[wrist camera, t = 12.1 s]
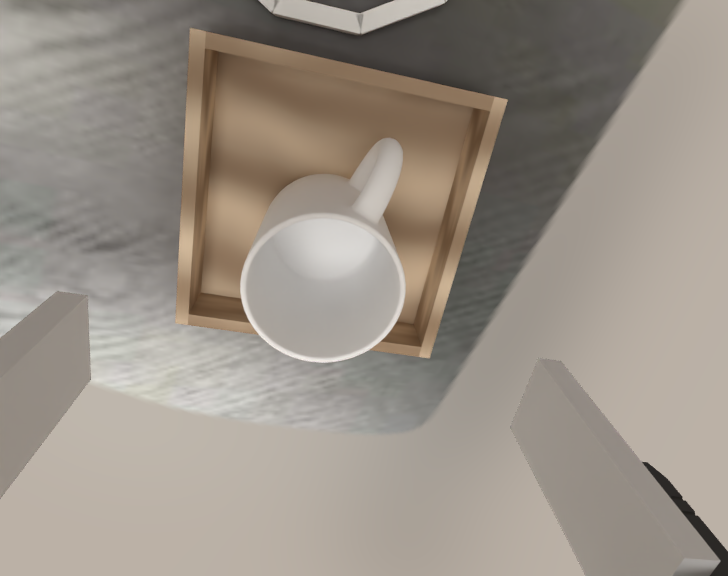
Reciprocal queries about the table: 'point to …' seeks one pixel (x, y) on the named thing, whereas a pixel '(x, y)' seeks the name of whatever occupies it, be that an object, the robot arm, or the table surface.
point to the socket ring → (348, 14)
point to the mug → (328, 263)
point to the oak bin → (322, 169)
